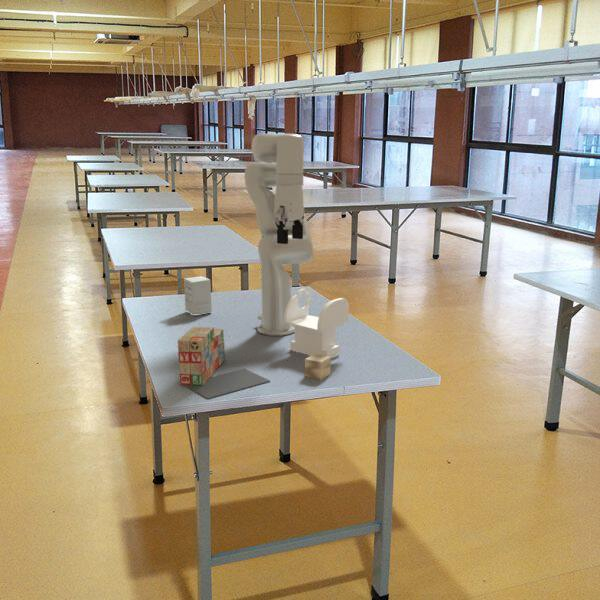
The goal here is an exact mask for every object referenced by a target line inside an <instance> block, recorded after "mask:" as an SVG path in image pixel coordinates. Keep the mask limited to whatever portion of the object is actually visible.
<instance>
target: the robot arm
mask: <svg viewBox="0 0 600 600" xmlns="http://www.w3.org/2000/svg"><path fill="white" fill-rule="evenodd" d="M251 152H252V153H251V154H252V157H253V159H254V161H256V162H251V163H249V164H248V165H247V166H246V167H245V169H244V184H245V188H246V190H247V194H248V195H249V198H250V199H251V201H252V203H253V205H254V207H255V213H256V220H257V224H258V226H257V227H258V229H259V232H260V234H261V236H262V237H261V238H260V240H259V241H258V245H257V250H258V256H259V257H258V258H259V263H260V264H259V265H260V273H261V278H260V279H261V314H260V315H258V316H257V320H260V324H259V325H258V326H257V332H258V331H259V332H258V333H260V334H262V333H263V334H262V335H265V334H266V336H274V337H275V336H276V337H277V336H286V335H291V334H293V333H295V326H293V325H289V324H285V323H284V313H285V309H286V306H287V304H288V302H289V301H290V299H291V298H292V278H291V276H290V273H289V272H288V271H287V270H286V269H285V268H284V265H295V264H296V265H297V264H298V265H300V264H307V263H310V262H311V260H312V259H313V257H314V246H313V245H314V244H313V240H312V237H311V231H310V228H309V223H308V219H307V216H306V214H305V211H306V210H305V207H304V193H303V192H304V191H303V186H304V153H305V142H304V139H303V136H301V135H300V134H297V133H258V134H255V135H254V137H253V138H252V143H251ZM273 187H274V188H275V192H273V191H271V189H268V188H273Z"/></svg>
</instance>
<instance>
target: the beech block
mask: <svg viewBox="0 0 600 600" xmlns="http://www.w3.org/2000/svg"><path fill="white" fill-rule="evenodd" d="M330 375H331V359H330V357H329V356H323V355H318V354H313V355H311V356H309V355H308V357H306V358H304V377H306V376H308V377H307V378H311V377H313V378H312V379H315V378H317V379H316V380H320V379H322V380H323V379H325V378H326V377H328V376H330Z"/></svg>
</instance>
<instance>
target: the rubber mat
mask: <svg viewBox="0 0 600 600" xmlns="http://www.w3.org/2000/svg"><path fill="white" fill-rule="evenodd" d="M270 382H271V380H270V379H268V378H266V377H263V376H261V375H259V374H258V373H255V372H253V371H251V370H249V369H247V368H240V369H237V370H233V371H228V372H226V373H221V374H218V375H214V376H213V375H212V376H211V377H210V378H209V379H208V380H207V381H206V382H205V384H204V385H203V386H201V385H183V386H184V387H186V388H188V389H189V390H191V391H193V392H194V393H196V394H198V395H200V396H202V397H204V398H205V399H207V400H210V399H214V398H217V397H221V396H225V395H228V394H231V393H235V392H239V391H242V390H245V389H249V388H250V389H251V388H253V387H256V386H259V385H264V384H267V383H270Z"/></svg>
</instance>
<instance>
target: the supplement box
mask: <svg viewBox="0 0 600 600" xmlns="http://www.w3.org/2000/svg"><path fill="white" fill-rule="evenodd" d="M183 283H184V284H183V286H184V305H185V306H184V307H185V311H186V310H187V311H189V312H190V313H192V314H203V313H210V312H212V313H213V309H212V307H213V306H212V286H211V284H212V283H211V279H209V278H208V277H205V276H201V275H200V276H193V277H185V278H183Z"/></svg>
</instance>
